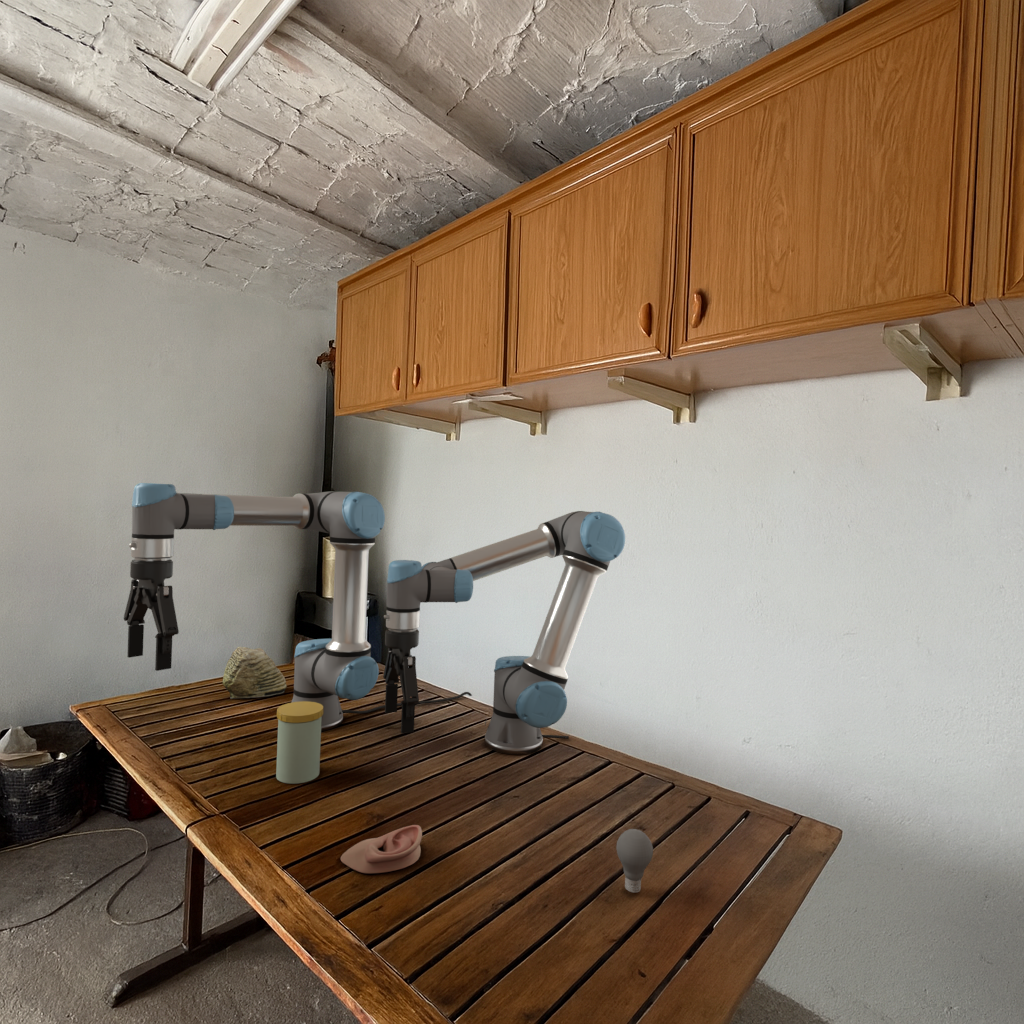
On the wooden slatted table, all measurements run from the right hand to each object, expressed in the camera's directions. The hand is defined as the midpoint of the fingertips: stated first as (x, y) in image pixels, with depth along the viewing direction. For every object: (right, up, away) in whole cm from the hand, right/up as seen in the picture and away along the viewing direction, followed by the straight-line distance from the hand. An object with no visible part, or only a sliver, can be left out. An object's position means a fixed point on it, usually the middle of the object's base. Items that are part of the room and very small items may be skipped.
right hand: (398, 721), depth 144 cm
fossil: (-55, -10, +54) cm, 78 cm away
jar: (-23, -12, 0) cm, 26 cm away
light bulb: (+46, -16, -38) cm, 62 cm away
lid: (-22, +3, 0) cm, 22 cm away
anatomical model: (+3, -14, -31) cm, 34 cm away
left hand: (-48, +17, -15) cm, 53 cm away
